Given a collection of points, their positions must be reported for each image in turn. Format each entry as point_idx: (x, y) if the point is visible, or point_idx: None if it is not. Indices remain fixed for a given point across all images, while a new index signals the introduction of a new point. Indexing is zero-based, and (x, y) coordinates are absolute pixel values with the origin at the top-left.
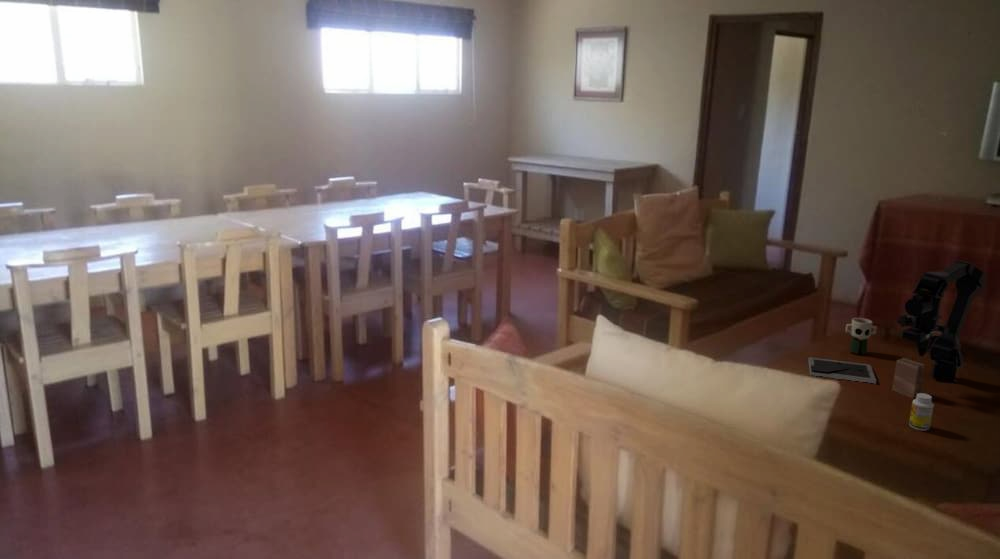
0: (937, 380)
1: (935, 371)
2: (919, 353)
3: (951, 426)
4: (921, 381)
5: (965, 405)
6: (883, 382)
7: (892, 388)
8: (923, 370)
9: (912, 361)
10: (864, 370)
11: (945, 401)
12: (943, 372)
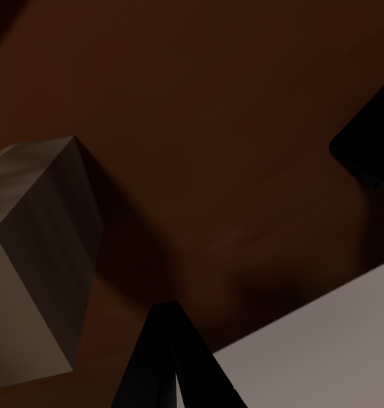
0: (331, 149)
1: (374, 134)
2: (146, 327)
3: (4, 394)
4: (93, 271)
5: (188, 317)
6: (52, 29)
7: (3, 150)
8: (81, 327)
9: (17, 317)
10: None
11: (155, 286)
12: (379, 168)
